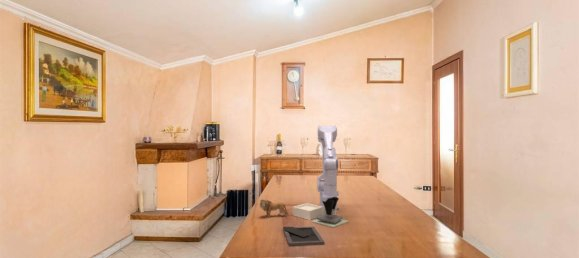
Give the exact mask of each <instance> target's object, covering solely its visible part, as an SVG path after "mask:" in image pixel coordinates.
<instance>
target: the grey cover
mask: <svg viewBox="0 0 579 258" xmlns="http://www.w3.org/2000/svg"><path fill="white" fill-rule="evenodd" d="M323 213H324V214H323V215H321V216H319V217H317V218H316V219H317V220H322V221H327V222H332V223H336V222H338V221H339V220H341V219H343V218H344V216H343V215H338V214H337V213H338V209H332V214H331V215H327V214H326V210H325V208H324V209H323Z"/></svg>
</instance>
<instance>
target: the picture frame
mask: <svg viewBox="0 0 579 258" xmlns="http://www.w3.org/2000/svg"><path fill="white" fill-rule="evenodd" d="M282 231H283V234H284V236H285V237H284V238H286V239H285V240H286V241H287V244H288V247H302V246H303V247H306V246H322V245H323V246H324V245H325V240H324V239H323V237H322V236H321V235H320V233H319V232H318V230H317V229H316V228H315V226H295V227H294V226H282Z"/></svg>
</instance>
